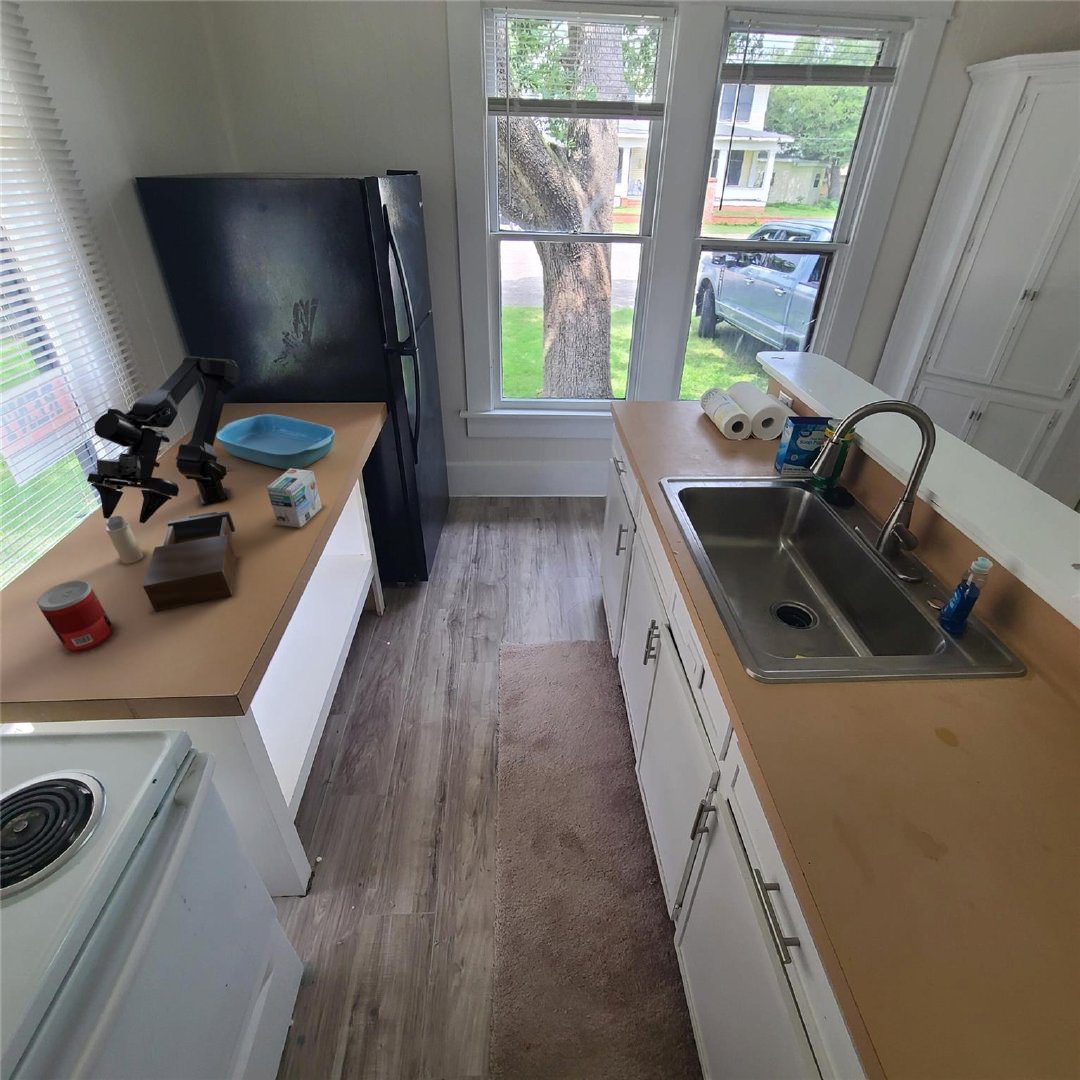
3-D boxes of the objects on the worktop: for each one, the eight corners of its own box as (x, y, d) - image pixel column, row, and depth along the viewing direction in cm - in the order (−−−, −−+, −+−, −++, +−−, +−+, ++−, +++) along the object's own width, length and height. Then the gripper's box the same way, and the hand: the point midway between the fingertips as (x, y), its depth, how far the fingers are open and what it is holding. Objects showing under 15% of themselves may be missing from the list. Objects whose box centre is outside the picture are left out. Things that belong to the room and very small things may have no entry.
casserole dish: (353, 449, 179) (349, 428, 175) (301, 480, 162) (295, 458, 158) (264, 429, 191) (258, 409, 187) (207, 456, 175) (200, 434, 171)
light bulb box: (301, 528, 142) (290, 490, 136) (276, 525, 143) (264, 487, 137) (323, 506, 150) (314, 470, 144) (299, 504, 151) (289, 467, 145)
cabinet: (166, 571, 127) (154, 547, 123) (236, 558, 131) (227, 534, 127) (155, 612, 116) (142, 586, 112) (232, 596, 120) (222, 570, 116)
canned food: (124, 629, 112) (99, 584, 106) (85, 657, 106) (57, 612, 99) (95, 620, 114) (69, 576, 108) (55, 647, 108) (25, 602, 101)
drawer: (178, 530, 139) (170, 512, 137) (236, 520, 143) (230, 503, 140) (167, 571, 126) (158, 552, 123) (231, 559, 130) (225, 540, 127)
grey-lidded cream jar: (129, 552, 133) (110, 514, 127) (147, 553, 133) (129, 514, 127) (118, 563, 130) (98, 524, 124) (136, 563, 130) (117, 525, 124)
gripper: (74, 437, 124) (53, 507, 122) (149, 445, 121) (129, 517, 119) (118, 455, 135) (100, 519, 132) (188, 462, 132) (171, 528, 129)
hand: (123, 520), depth 128 cm, fingers open, 9 cm apart
